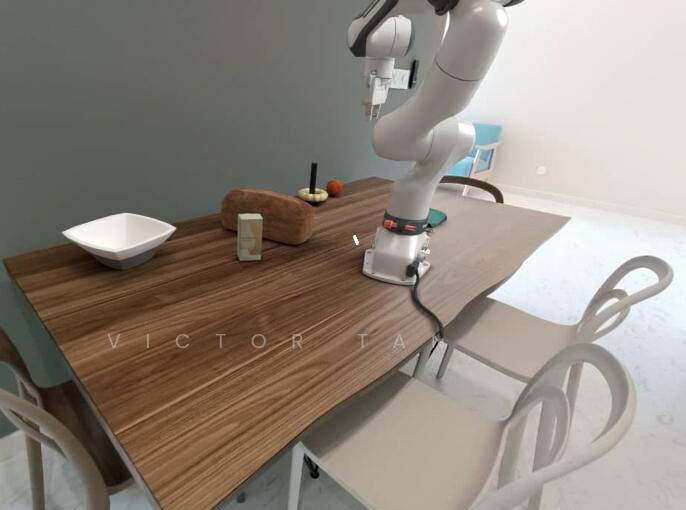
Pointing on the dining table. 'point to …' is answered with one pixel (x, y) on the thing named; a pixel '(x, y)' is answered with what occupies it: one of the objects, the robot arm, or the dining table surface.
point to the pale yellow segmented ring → (312, 195)
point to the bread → (270, 214)
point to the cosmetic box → (249, 236)
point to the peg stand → (313, 184)
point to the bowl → (121, 239)
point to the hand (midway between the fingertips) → (371, 120)
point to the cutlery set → (435, 218)
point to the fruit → (334, 187)
